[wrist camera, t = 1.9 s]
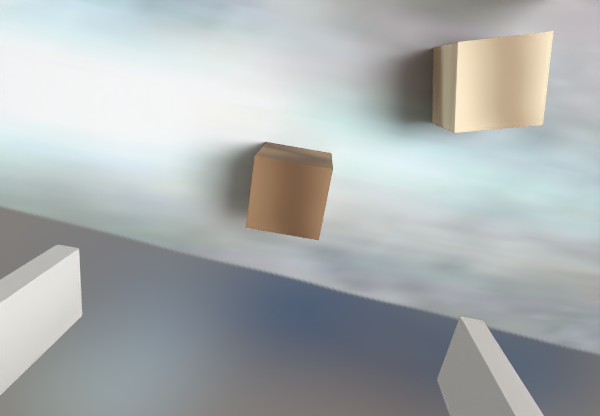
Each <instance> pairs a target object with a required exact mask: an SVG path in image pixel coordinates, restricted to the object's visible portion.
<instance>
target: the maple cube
mask: <svg viewBox="0 0 600 416" xmlns="http://www.w3.org/2000/svg"><path fill="white" fill-rule="evenodd" d="M552 40H553V31H552V32H543V33H534V34H525V35H516V36H507V37H498V38H489V39H480V40H471V41H462V42H456V43H452V44H447V45H443V46H439V47H435V48H433V101H432V123H434V124H436V125H438V126H441V127H443V128H445V129H447V130H449V131H452V132H454V133H458V132H469V131H480V130H491V129H503V128H514V127H525V126H536V125H543V118H544V109H545V100H546V92H547V83H548V74H549V66H550V57H551V48H552Z"/></svg>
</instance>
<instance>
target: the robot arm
mask: <svg viewBox="0 0 600 416" xmlns="http://www.w3.org/2000/svg"><path fill="white" fill-rule="evenodd" d="M81 316H82V302H81V281H80V259H79V248H74V247H68V246H62V245H55V246H54V247H52V248H51V249H49V250H47V251H46V252H45V253H43V254H41V255H39V256H38V257H36V258H35V259H33V260H31V261H30V262H28V263H27V264H25V265H23V266H22V267H20V268H18V269H17V270H15V271H13V272H12V273H10V274H9V275H7V276H6V277H4V278H2V279H1V280H0V395H1V394H2V393H3V392H4V391H5V390H6V389H7V388H8V387H9V386H10V385H11V384H12V383H13V382H14V381H15V380H16V379H17V378H18V377H20V376H21V375H22V374H23V373H24V371H26V370H27V369H28V368H29V367H30V366H31V365H32V364H33V363H34V362H35V361H36V360H37V359H38V358H39V357H40V356H41V355H42V354H43V353H44V352H45V351H46V350H47V349H48V348H49V347H50V346H51V345H52V344H53V343H54V342H56V340H58V339H59V338H60V337H61V336H62V335H63V334H64V333H65V332H66V331H67V330H68V329H69V328H70V327H71V326H72V325H73V324H74V323H75V322H76V321H77V320H78V319H79V318H80V317H81ZM437 381H438V384H439V386H440V389H441V392H442V395H443V398H444V400H445V403H446V406H447V408H448V411H449V414H450V416H543V414H542V412H541V411H540V409H539V408H538V406H537V405H536V403H535V402H534V400H533V398H532V397H531V395H530V394H529V392H528V391H527V389H526V387H525V386H524V384H523V383H522V381H521V380H520V378H519V376H518V375H517V373H516V372H515V370H514V369H513V367H512V365H511V364H510V363H509V361H508V359H507V358H506V356H505V355H504V353H503V351H502V350H501V348H500V347H499V345H498V343H497V342H496V340H495V339H494V337H493V336H492V334H491V333H490V331H489V329H488V328H487V326H486V325H485V323H484V322H483V321H482V320H476V319H471V318H465V317H460V319H459V322H458V325H457V327H456V330H455V333H454V335H453V338H452V341H451V344H450V346H449V349H448V352H447V354H446V357H445V360H444V362H443V365H442V368H441V371H440V373H439V376H438V379H437Z"/></svg>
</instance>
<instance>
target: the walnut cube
mask: <svg viewBox="0 0 600 416" xmlns="http://www.w3.org/2000/svg"><path fill="white" fill-rule="evenodd" d="M332 171H333V166H332V155H331V153H326V152H321V151H315V150H309V149H303V148H297V147H292V146H286V145H280V144H274V143H269V142H266V143H265V144H264V145H263V146H262V147H261V149H260V150H259V151H258V152H257V153H256V154H255V156H254V165H253V173H252V181H251V189H250V198H249V206H248V214H247V222H246V228H252V229H258V230H263V231H269V232H275V233H281V234H286V235H292V236H298V237H303V238H309V239H315V240H319V236H320V231H321V226H322V221H323V216H324V211H325V206H326V201H327V196H328V191H329V186H330V181H331V176H332Z"/></svg>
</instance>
